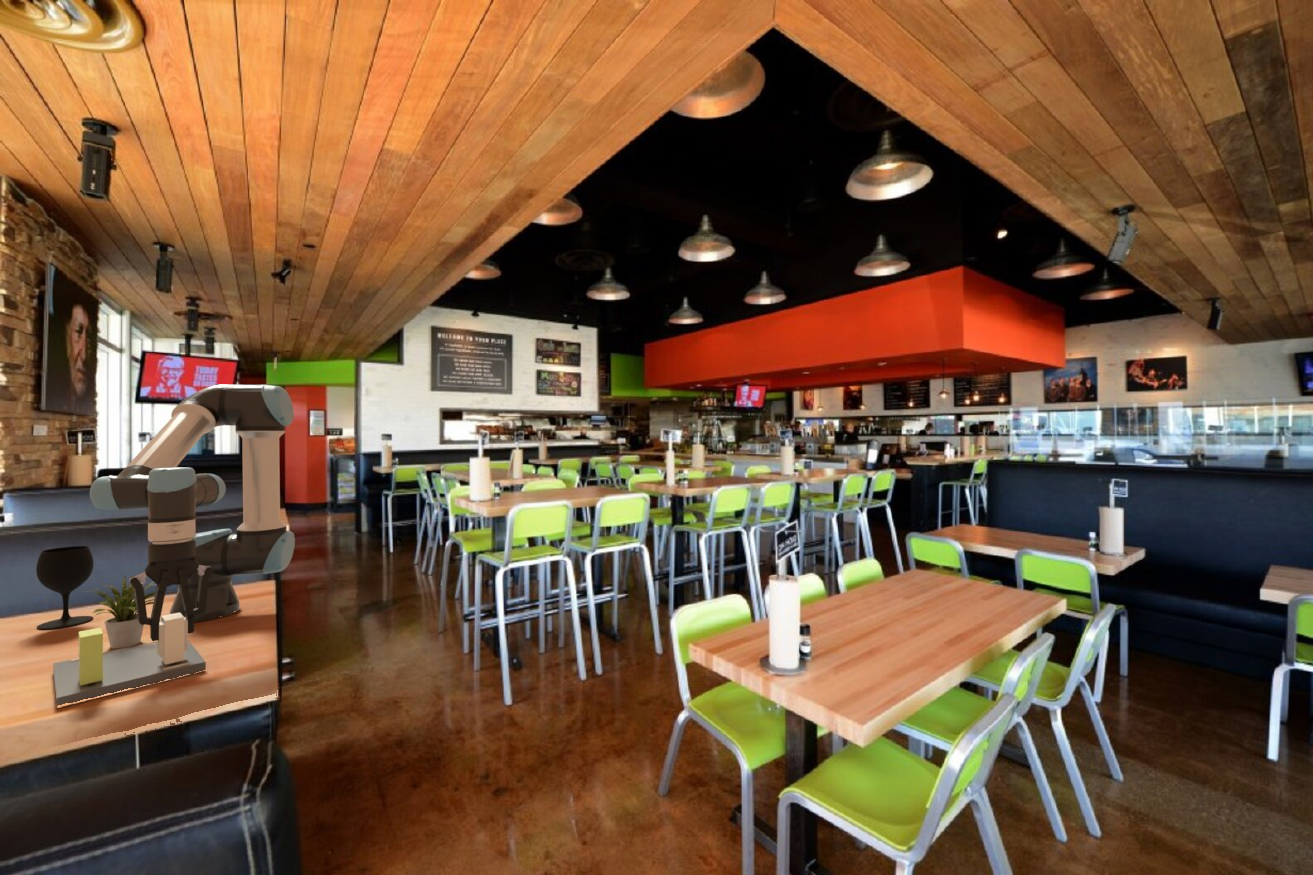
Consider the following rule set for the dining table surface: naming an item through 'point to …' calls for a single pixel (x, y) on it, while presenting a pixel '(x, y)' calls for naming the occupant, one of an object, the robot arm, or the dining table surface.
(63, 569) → the wine glass
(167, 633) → the fader cream
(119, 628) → the house plant
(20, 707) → the dining table surface
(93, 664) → the fader lime
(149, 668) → the mixing board
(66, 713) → the dining table surface
